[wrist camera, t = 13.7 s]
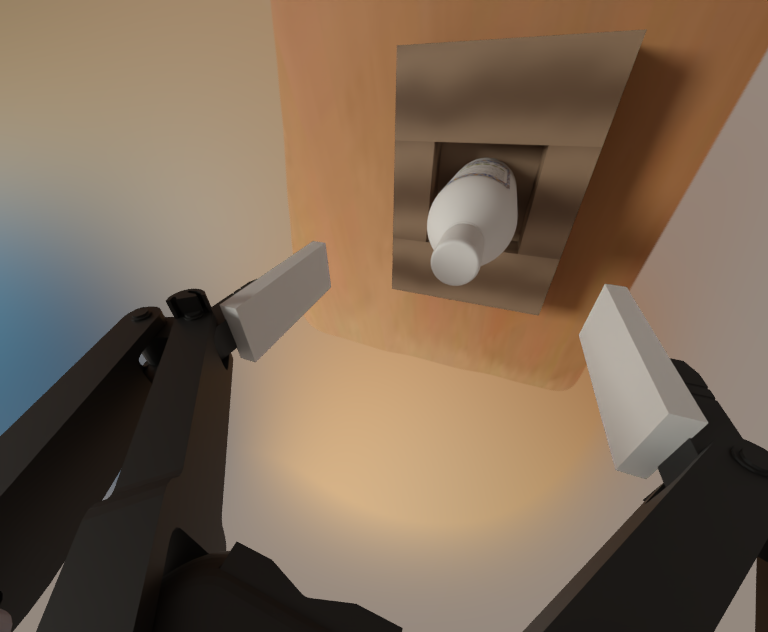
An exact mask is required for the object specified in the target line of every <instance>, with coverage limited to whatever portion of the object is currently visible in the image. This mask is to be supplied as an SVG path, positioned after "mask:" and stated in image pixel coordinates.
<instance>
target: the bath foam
mask: <svg viewBox="0 0 768 632" xmlns="http://www.w3.org/2000/svg"><path fill="white" fill-rule="evenodd" d="M517 222H518V200H517V187H516V180H515V177H514V174H513V172H512V171H511V169H510V168H509V167H508V166H507V165H506V164H505V163H504V162H502V161H500V160H498V159H494V158H480V159H476V160H474V161H471V162H469V163H468V164H466V165H465V166H464V167H463V168H462V169H461V170H459V171H458V172H457V174H456V175H455V176H454V177H453V178H452V179H451V180H450V181H449V182H448V183H447V185H446V186H445V187H444V188H443V189H442V190H441V191H440V192H439V193H438V195H437V196H436V198H435V199H434V201H433V203H432V205H431V208H430V211H429V215H428V220H427V233H428V238H429V241H430V244H431V246H432V248H433V250H434V251H433V253H432V256H431V268H432V271H433V273H434V275H435V276H436V277H437V278H438V279H439V280H440V281H441V282H443V283H445V284H448V285H452V286H459V285H464V284H466V283H468V282H470V281H471V280H473V279H474V278H475V277H476V275H477V274H478V272H479V270H480V266H482V265H485V264H487V263H489V262H491V261H492V260H494V259H495V258H497V257H498V256H499V255H500V254H501V253H502V252H503V251H504V250H505V249H506V248H507V246H508V245H509V243H510V242H511V240H512V238H513V236H514V233H515V230H516V227H517Z"/></svg>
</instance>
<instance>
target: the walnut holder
mask: <svg viewBox="0 0 768 632" xmlns="http://www.w3.org/2000/svg"><path fill="white" fill-rule="evenodd" d="M645 33H646V30H631V31H615V32H600V33H584V34H569V35H553V36H537V37H522V38H506V39H491V40H475V41H460V42H444V43H428V44H413V45H397V68H396V118H395V168H394V219H393V269H392V289H396V290H402V291H407V292H413V293H418V294H424V295H429V296H435V297H440V298H446V299H451V300H456V301H462V302H467V303H473V304H478V305H484V306H489V307H495V308H500V309H506V310H511V311H517V312H522V313H528V314H533V315H539V313H540V311H541V308H542V305H543V303H544V300H545V298H546V295H547V292H548V290H549V287H550V284H551V282H552V279H553V276H554V274H555V271H556V268H557V266H558V263H559V260H560V258H561V255H562V253H563V250H564V247H565V245H566V242H567V239H568V237H569V234H570V231H571V229H572V226H573V223H574V221H575V218H576V215H577V213H578V210H579V208H580V205H581V202H582V200H583V197H584V194H585V192H586V189H587V186H588V184H589V181H590V178H591V176H592V173H593V170H594V168H595V165H596V163H597V160H598V157H599V155H600V152H601V149H602V147H603V144H604V141H605V139H606V136H607V133H608V131H609V128H610V125H611V123H612V120H613V118H614V115H615V112H616V110H617V107H618V104H619V102H620V99H621V96H622V94H623V91H624V88H625V86H626V83H627V80H628V78H629V75H630V73H631V70H632V67H633V65H634V62H635V59H636V57H637V54H638V51H639V49H640V46H641V43H642V41H643V38H644V35H645ZM480 158H494V159H498V160H500V161H502V162H504V163H505V164H506V165H507V166H508V167H509V168H510V169H511V171H512V172H513V174H514V177H515V180H516V187H517V200H518V222H517V227H516V230H515V233H514V236H513V238H512V240H511V242H510V243H509V245H508V246H507V248H506V249H505V250H504V251H503V252H502V253H501V254H500V255H499V256H498V257H497V258H495V259H494V260H492V261H491V262H489V263H487V264H485V265H482V266H480V270H479V272H478V274H477V275H476V277H475V278H474V279H473V280H471V281H470V282H468V283H466V284H464V285H459V286H452V285H448V284H445V283H443V282H441V281H440V280H439V279H438V278H437V277H436V276H435V275H434V273H433V271H432V268H431V256H432V253H433V251H434V250H433V248H432V246H431V244H430V241H429V238H428V233H427V220H428V215H429V211H430V208H431V205H432V203H433V201H434V199H435V198H436V196H437V195H438V193H439V192H440V191H441V190H442V189H443V188H444V187H445V186H446V185H447V183H448V182H449V181H450V180H451V179H452V178H453V177H454V176H455V175H456V174H457V172H458V171H459V170H461V169H462V168H463V167H464V166H465V165H466V164H468V163H469V162H471V161H474V160H476V159H480Z"/></svg>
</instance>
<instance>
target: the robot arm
mask: <svg viewBox="0 0 768 632" xmlns="http://www.w3.org/2000/svg"><path fill="white" fill-rule="evenodd" d="M330 288H331V283H330V275H329V267H328V260H327V252H326V244H325V243H322V242H316V241H312V242H311V243H310V244H308V245H307V246H305V247H304V248H302V249H301V250H299V251H298V252H296V253H295V254H293V255H292V256H291V257H289V258H288V259H286V260H285V261H283V262H282V263H280V264H279V265H277V266H276V267H274V268H273V269H271V270H270V271H269V272H267V273H265V274H264V275H263V276H261V277H260V278H258V279H256V280H253V281H251V282H249V283H247V284H246V285H244V286H242V287H241V289H238V290H236V291H235V292H234V294H231V295H229V296H227V297H226V298H225V299H223V300H222V301H220V302H219V303H217V304H216V305H214V306H213V307H211V306H210V303H209V301H208V299H207V296H206V294H205V292H204V291H203V290H201V289H188V290H184V291H180V292H178V293H175V294H173V295H172V296H170V297H169V298H168V299H167V300H166V302H167V304H168V306H169V308H170V310H171V312H172V314H173V315H174V317H165V316H164V315H163V313H162V311H161V309H160V308H158V307H142V308H140V309H136V310H134V311H132V312H130V313H128V314H127V315H126V316H124V317H123V318H122V319H121V320H120V321H119V322H118V323H117V324H116V325H115V326H114V327H113V328H112V329H111V330H110V331H109V332H108V333H107V334H106V335H105V336H103V337H102V338H101V339H100V340H99V341H98V342H97V343H96V344H95V345H94V346H93V347H92V348H91V349H90V350H89V351H88V352H87V353H86V354H85V355H84V356H83V357H82V358H81V359H80V360H79V361H78V362H77V363H76V364H75V365H74V366H72V367H71V368H70V369H69V370H68V371H67V372H66V373H65V374H64V375H63V376H62V377H61V378H60V379H59V380H58V381H57V382H56V383H55V384H54V385H53V386H52V387H51V388H50V389H49V390H48V391H47V392H46V393H45V394H44V395H43V396H42V397H41V398H39V399H38V400H37V402H35V403H34V404H33V405H32V406H31V407H30V408H29V409H28V410H27V411H26V412H25V413H24V414H23V415H22V416H21V417H20V418H19V419H18V420H17V421H16V422H15V423H14V424H13V425H12V426H11V427H10V428H9V429H8V430H7V431H5V432H4V433H3V434H2V435H1V436H0V632H13V631H14V629H15V628H16V627H17V626H18V625H19V623H20V622H21V621H22V620H23V619H24V617H25V616H26V615H27V614H28V613H29V611H30V610H31V608H32V607H33V606H34V604H35V603H36V602H37V600H38V599H39V598H40V596H41V595H42V594H43V592H44V591H45V589H46V588H47V587H48V586H49V584H50V583H51V581H52V580H53V578H54V577H55V575H56V574H57V572H58V571H59V569H60V568H61V566H62V564H63V563H64V565H63V568H62V570H61V572H60V575H59V577H58V579H57V582H56V585H55V587H54V589H53V592H52V594H51V597H50V599H49V602H48V604H47V606H46V609H45V611H44V614H43V616H42V619H41V621H40V623H39V626H38V628H37V631H36V632H402V628H401V627H399V626H397V625H395V624H394V623H392V622H390V621H388V620H386V619H384V618H382V617H380V616H378V615H376V614H375V613H373V612H371V611H369V610H367V609H365V608H363V607H361V606H359V605H357V604H353V603H345V602H337V601H328V600H321V599H313V598H307V597H305V596H304V595H302V594H301V592H300V591H299V590H298V589H297V588H296V587H295V586H294V584H293V583H292V582H291V581H290V580H289V579H288V578H287V576H286V575H285V574H284V573H283V572H282V571H281V570H280V568H279V567H278V566H277V565H276V564H275V563H274V562H273V561H272V560H271V559H269V558H267V557H265V556H263V555H261V554H260V553H258V552H256V551H254V550H252V549H250V548H248V547H246V546H244V545H243V544H241V543H239V542H236V544H235V545H234V546H233V548H232V550H231V551H226V541H225V535H224V531H223V527H222V504H223V491H224V477H225V464H226V449H227V436H228V423H229V409H230V395H231V382H232V368H233V357H232V354H231V352H232V351H233V350H235V349H236V348H237V349H238V351H239V354H240V356H241V358H243V359H246V360H250V361H253V362H256V361H257V360H258V359H259V358H260V357H261V356H262V355H263V354H264V353H265V352H266V351H267V350H268V349H269V348H270V347H271V346H272V345H273V344H274V343H275V342H276V341H277V340H278V339H279V338H280V337H281V336H282V335H283V334H284V333H285V332H286V331H287V330H288V329H289V328H290V327H291V326H292V325H293V324H294V323H295V322H297V320H299V319H300V317H302V316H303V315H304V314H305V313H306V312H307V311H308V310H309V309H310V308H311V307H312V306H313V305H314V304H315V303H316V302H317V301H318V300H319V299H320V298H321V297H322V296H323V295H324V294H325V293H326V292H327V291H328V290H329V289H330ZM579 337H580V341H581V344H582V348H583V352H584V356H585V359H586V363H587V367H588V370H589V373H590V377H591V381H592V385H593V389H594V392H595V396H596V400H597V403H598V407H599V411H600V414H601V418H602V422H603V425H604V429H605V433H606V436H607V440H608V444H609V448H610V451H611V454H612V458H613V462H614V466H615V469H616V470H617V471H621V472H624V473H627V474H631V475H634V476H638V477H641V478H644V479H647V478H648V477H649V476H650V475H651V474H653V473H654V472H655V471H656V470H657V469H659V472H660V475H661V477H662V480H663V482H664V483H663V484H662V485H660V486H659V487H658V488H657V489H656V490H654V491H653V492H652V493H651V494H650V495H648V496H647V497H646V498H645V499H644V500H643V501H645V502H644V503H643V504H642V505H641V506H640V507H639V508H638V509H637V510H636V511H635V512H634V513H633V515H632V516H631V517H630V518H629V519H628V520H627V521H626V522H625V523H624V524H623V525H622V526H621V527H620V529H618V531H617V532H616V533H615V534H614V535H613V536H612V537H611V538H610V539H609V540H608V541H607V542H606V543H605V545H603V547H602V548H601V549H600V550H599V551H598V552H597V553H596V554H595V555H594V556H593V557H592V558H591V559H590V560H589V561H588V563H587V564H586V565H585V566H584V567H583V568H582V569H581V570H580V571H579V572H578V573H577V574H576V575H575V576H574V578H573V579H572V580H571V581H570V582H569V583H568V584H567V585H566V586H565V587H564V588H563V589H562V590H561V592H559V594H558V595H557V596H556V597H555V598H554V599H553V600H552V601H551V602H550V603H549V604H548V605H547V607H545V608H544V610H543V611H542V612H541V613H540V614H539V615H538V616H537V617H536V618H535V619H534V620H533V621H532V623H530V624H529V626H528V627H527V628H526V629H525V630H524V631H523V632H714V631H715V629H716V627H717V625H718V624H719V622H720V620H721V618H722V617H723V615H724V613H725V612H726V610H727V608H728V606H729V605H730V603H731V601H732V599H733V598H734V596H735V594H736V592H737V591H738V589H739V587H740V585H741V584H742V582H743V580H744V579H745V577H746V575H747V573H748V572H749V570H750V568H751V567H752V565H753V563H754V561H755V560H756V558H757V574H756V622H755V625H756V626H755V632H768V451H767V450H765V449H764V448H761V447H760V446H757V445H756V444H753V443H752V442H749V441H747V440H744V439H743V438H742V437H741V435H740V434H739V432H738V431H737V429H736V428H735V426H734V425H733V424H732V422H731V421H730V419H729V418H728V416H727V414H726V413H725V412H724V410H723V409H722V407H721V406H720V404H719V403H718V401H715V397H714V395H713V394H712V392H711V391H710V390H708V389H707V388H708V386H707V385H706V384H705V382H704V380H703V379H702V378H701V376H700V375H699V374H698V373H697V372H696V371H695V370H694V369H692V368H691V367H690V366H689V365H688V364H686V363H685V362H684V361H681V360H675V359H670V358H669V357H668V355H667V353H666V352H665V350H664V348H663V347H662V345H661V343H660V342H659V340H658V338H657V337H656V335H655V333H654V332H653V330H652V328H651V327H650V325H649V323H648V322H647V320H646V318H645V317H644V315H643V313H642V312H641V310H640V309H639V307H638V305H637V303H636V302H635V300H634V298H633V297H632V295H631V293H630V292H629V290H628V288H627V287H623V286H616V285H610V284H605V285H604V287H603V289H602V291H601V293H600V295H599V297H598V298H597V300H596V302H595V304H594V306H593V308H592V310H591V312H590V314H589V316H588V318H587V320H586V322H585V324H584V326H583V328H582V330H581V332H580V334H579ZM141 353H142V354H143V356H144V357H145V359H146V360H147V361H146V362H145V363H144V365H141V364H140V363H139V357H140V355H141ZM121 468H122V469H121ZM120 470H121V472H120ZM119 472H120V475H119V478H118V480H117V483H116V486H115V489H114V491H113V493H112V495H111V496H110V497H109V498H108V499H106V500H103V501H102V499H103V498H104V496H105V495H106V493H107V491H108V490H109V488H110V487H111V485H112V483H113V482H114V480H115V478H116V477H117V475H118V473H119Z"/></svg>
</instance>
